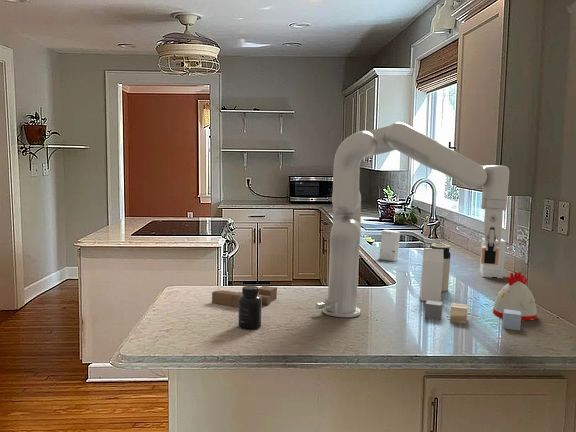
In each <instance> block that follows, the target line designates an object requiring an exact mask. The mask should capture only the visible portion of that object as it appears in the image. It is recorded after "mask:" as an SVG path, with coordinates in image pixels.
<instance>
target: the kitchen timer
mask: <svg viewBox="0 0 576 432" xmlns="http://www.w3.org/2000/svg"><path fill="white" fill-rule="evenodd" d="M506 280H507V284H505V285H504V286H503V287H502V288H501V290H499V291H498V292H497V294H496V298H495V300H494V303H493V308H492V313H493V315H495V316H497V317H499V318H502V319H503V311H504V309H507V310H516V311H521V320H524V321H523V322H526V321H525V320H532V319H535V318H536V319H537V317H536V316H538V315H537V314H538V311H537V305H536V299H535V297H534V295H533V293H532V291H531V290H530V288H529V287H528V286H527V285H526V283H527V282H528V278H526V277H525V274H522V273H521V272H520V271H518V272H516V271H515V272H514V273H513V272H510V275H509V276H506ZM536 319H535V320H536ZM532 321H533V320H532Z"/></svg>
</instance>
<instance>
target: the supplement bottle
mask: <svg viewBox="0 0 576 432" xmlns="http://www.w3.org/2000/svg"><path fill="white" fill-rule="evenodd" d="M258 289H259V287H258V286H256V285H245V286H242V289H241V292H242V294H243V295H242V296H241V297H240V298H239V308H238V319H237V320H238V322H237V323H238V324H237V325H238V327H239V328H240V329H242V330H246V331H248V330H249V331H250V330H251V331H252V330H257V329H259V328H261V326H262V309H263V308H262V306H263V305H262V299H261V297H260V296H258V294H259V292H258Z"/></svg>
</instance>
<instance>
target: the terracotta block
mask: <svg viewBox="0 0 576 432" xmlns="http://www.w3.org/2000/svg"><path fill="white" fill-rule="evenodd" d="M485 250H486V246H482V256H481V255H480V259H481V264H489V263H484V257H485ZM495 251H496V256H495V264H492V265H498V258H499V247H495Z"/></svg>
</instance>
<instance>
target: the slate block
mask: <svg viewBox="0 0 576 432" xmlns="http://www.w3.org/2000/svg"><path fill="white" fill-rule="evenodd" d="M521 322H522V321H521V311H516V310H507V309H504V311H503V318H502V329H504V330H506V329H507V330H514V331H521V326H522V323H521Z"/></svg>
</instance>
